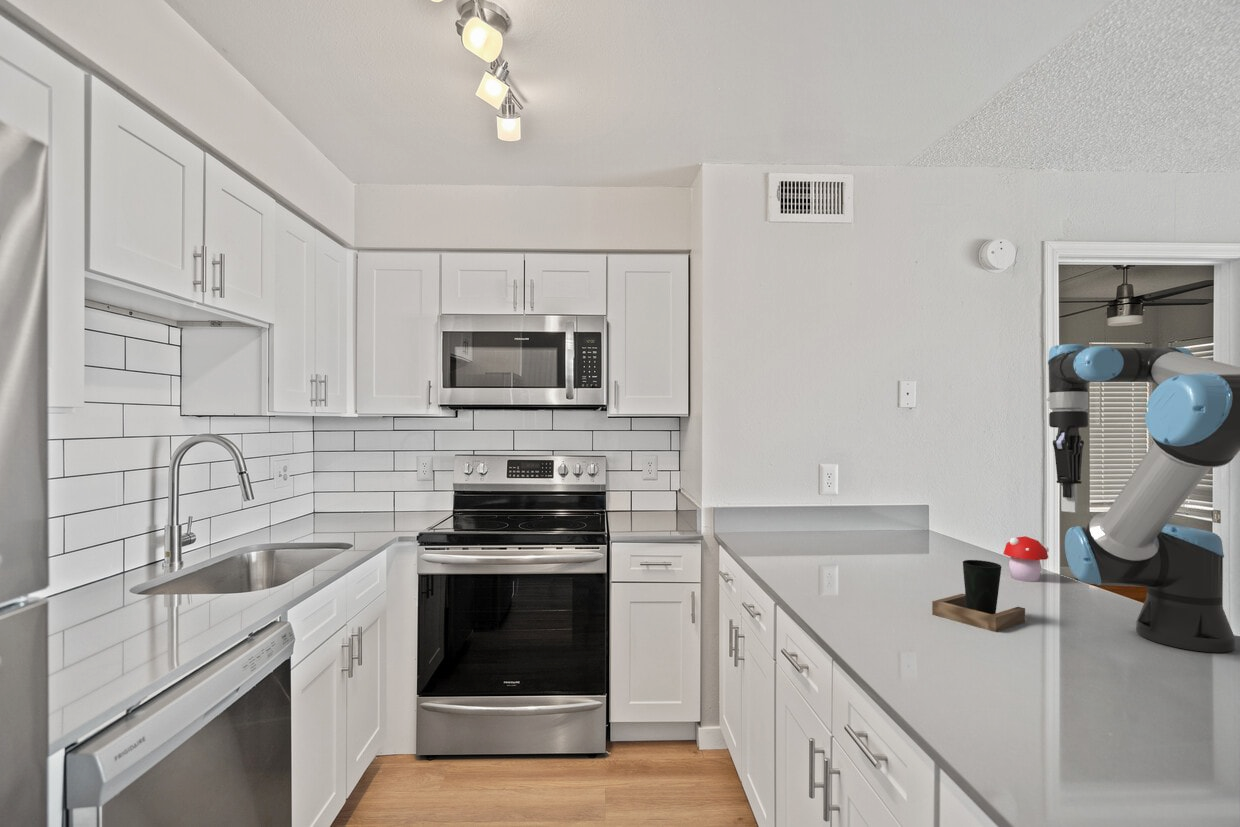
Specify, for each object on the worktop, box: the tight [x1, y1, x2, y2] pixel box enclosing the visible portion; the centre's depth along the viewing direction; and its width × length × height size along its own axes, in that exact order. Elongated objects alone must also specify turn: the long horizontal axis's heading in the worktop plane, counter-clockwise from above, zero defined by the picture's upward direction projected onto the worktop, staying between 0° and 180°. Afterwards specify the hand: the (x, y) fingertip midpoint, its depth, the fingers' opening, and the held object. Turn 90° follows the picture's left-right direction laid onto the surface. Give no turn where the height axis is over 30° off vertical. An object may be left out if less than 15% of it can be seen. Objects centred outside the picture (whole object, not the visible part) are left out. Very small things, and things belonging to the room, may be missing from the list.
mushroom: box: [1002, 535, 1049, 583], centre depth 181 cm, size 11×11×12 cm
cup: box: [962, 559, 1002, 614], centre depth 146 cm, size 8×8×12 cm
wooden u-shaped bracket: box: [931, 593, 1026, 633], centre depth 145 cm, size 14×12×3 cm
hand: (1069, 511), depth 150 cm, fingers closed
